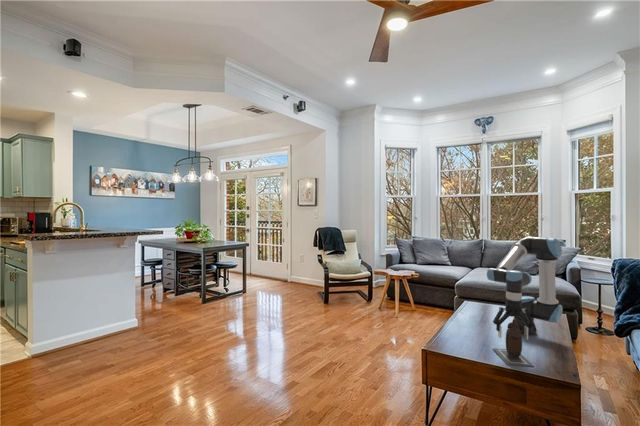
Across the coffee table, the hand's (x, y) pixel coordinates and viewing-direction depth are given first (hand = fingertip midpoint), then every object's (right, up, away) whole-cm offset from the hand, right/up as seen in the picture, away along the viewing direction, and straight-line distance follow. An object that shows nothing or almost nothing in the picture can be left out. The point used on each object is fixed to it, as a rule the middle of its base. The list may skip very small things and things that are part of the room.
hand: (512, 337), depth 184 cm
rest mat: (0, -11, 0) cm, 11 cm away
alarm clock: (0, -10, 0) cm, 10 cm away
